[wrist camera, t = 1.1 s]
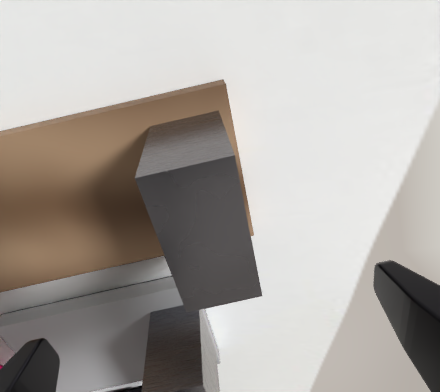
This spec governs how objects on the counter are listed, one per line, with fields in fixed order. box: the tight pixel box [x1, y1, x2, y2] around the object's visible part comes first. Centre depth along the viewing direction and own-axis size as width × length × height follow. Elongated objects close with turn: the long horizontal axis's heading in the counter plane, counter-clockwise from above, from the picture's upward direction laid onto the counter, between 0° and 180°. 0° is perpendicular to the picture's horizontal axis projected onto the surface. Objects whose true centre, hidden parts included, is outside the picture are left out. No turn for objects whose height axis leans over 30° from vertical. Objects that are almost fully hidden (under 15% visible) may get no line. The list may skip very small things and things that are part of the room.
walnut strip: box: [0, 80, 262, 313], centre depth 13 cm, size 8×21×6 cm, turn 101°
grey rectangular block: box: [0, 276, 220, 392], centre depth 19 cm, size 8×12×6 cm, turn 101°
